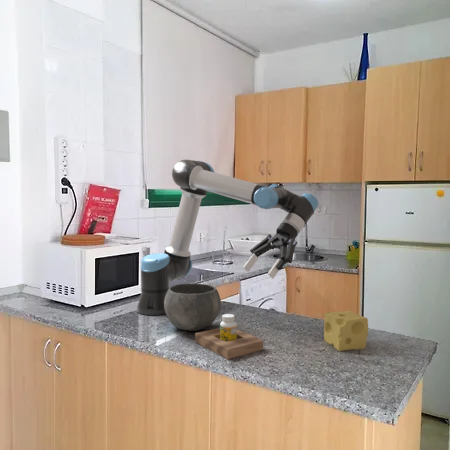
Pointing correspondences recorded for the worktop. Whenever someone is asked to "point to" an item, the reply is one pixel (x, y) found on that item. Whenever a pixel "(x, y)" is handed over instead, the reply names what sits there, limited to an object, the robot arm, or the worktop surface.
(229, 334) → the supplement bottle
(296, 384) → the worktop surface
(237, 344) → the well board
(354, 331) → the cheese
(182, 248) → the robot arm
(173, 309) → the bowl
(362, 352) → the worktop surface
